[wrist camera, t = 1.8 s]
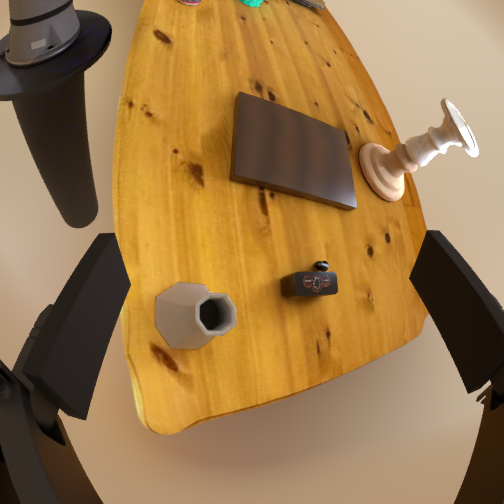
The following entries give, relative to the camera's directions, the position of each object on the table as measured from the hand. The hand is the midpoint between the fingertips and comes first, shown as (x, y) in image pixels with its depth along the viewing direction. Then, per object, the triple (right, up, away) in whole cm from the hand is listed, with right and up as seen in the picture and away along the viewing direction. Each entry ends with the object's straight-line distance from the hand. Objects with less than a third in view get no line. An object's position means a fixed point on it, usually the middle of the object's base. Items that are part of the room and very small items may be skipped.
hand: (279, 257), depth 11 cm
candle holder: (+24, +15, +38) cm, 47 cm away
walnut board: (+5, +15, +29) cm, 33 cm away
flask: (-8, -6, +17) cm, 20 cm away
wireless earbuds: (+6, -4, +25) cm, 25 cm away
